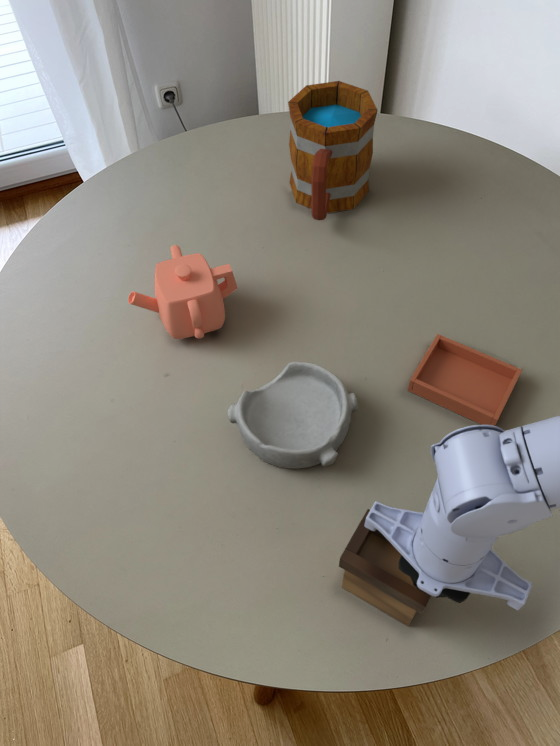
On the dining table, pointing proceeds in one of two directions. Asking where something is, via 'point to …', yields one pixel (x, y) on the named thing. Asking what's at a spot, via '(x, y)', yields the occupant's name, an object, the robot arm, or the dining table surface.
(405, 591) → the frame
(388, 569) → the stand
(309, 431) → the dish
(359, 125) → the mug
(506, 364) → the holder
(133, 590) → the dining table surface
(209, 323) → the teapot
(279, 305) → the dining table surface
